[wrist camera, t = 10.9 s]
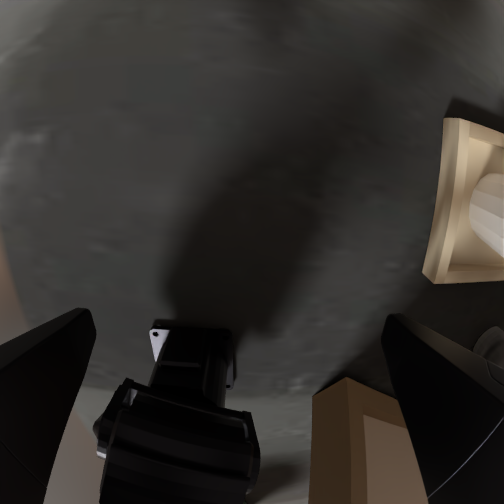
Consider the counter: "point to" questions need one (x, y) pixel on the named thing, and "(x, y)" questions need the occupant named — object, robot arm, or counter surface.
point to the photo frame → (361, 449)
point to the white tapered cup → (489, 211)
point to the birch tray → (463, 206)
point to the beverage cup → (491, 346)
